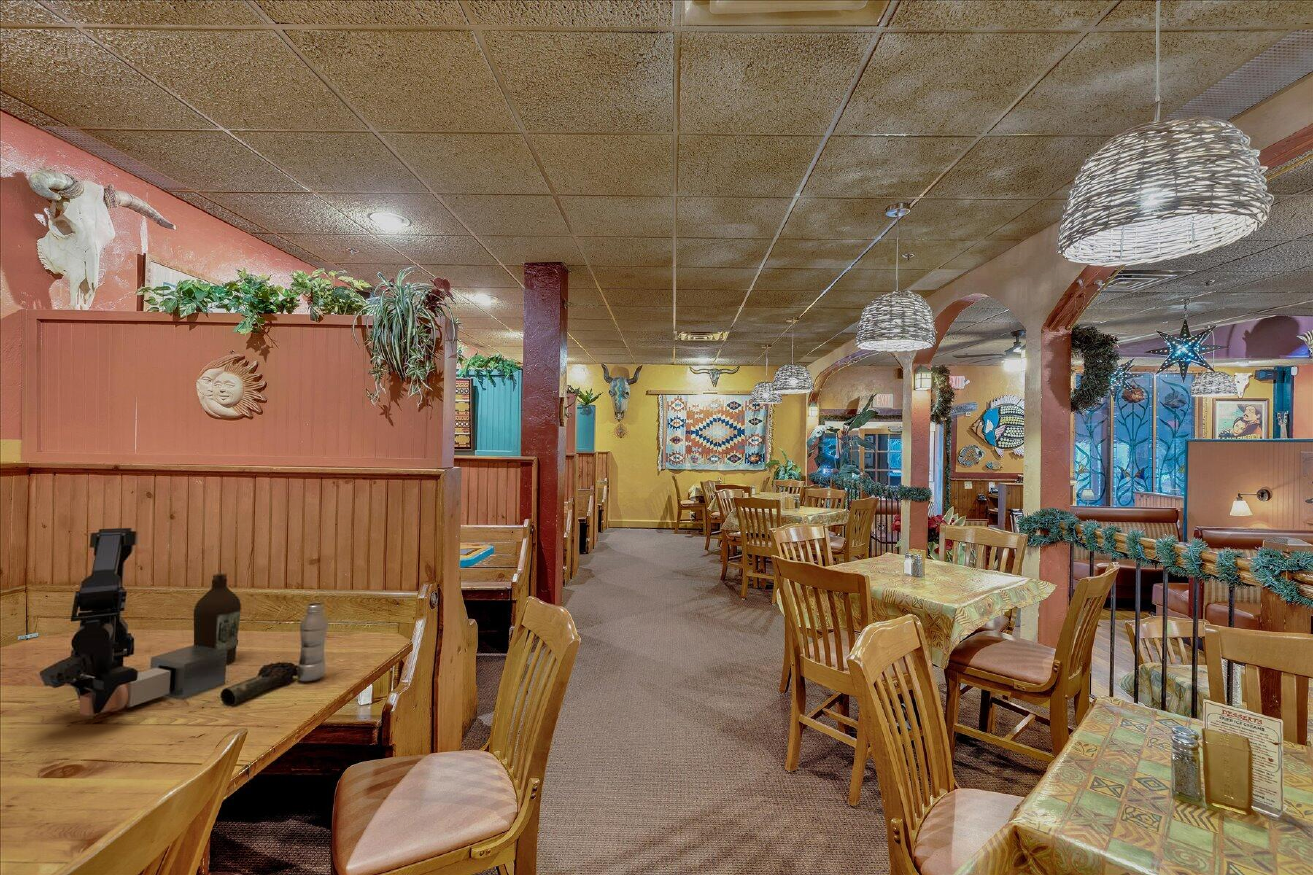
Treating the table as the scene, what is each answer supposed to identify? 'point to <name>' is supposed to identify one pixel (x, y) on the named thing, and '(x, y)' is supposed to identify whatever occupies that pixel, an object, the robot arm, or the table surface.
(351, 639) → the table surface
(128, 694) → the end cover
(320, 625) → the plastic bottle
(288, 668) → the metal pipe
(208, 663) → the housing
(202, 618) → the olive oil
